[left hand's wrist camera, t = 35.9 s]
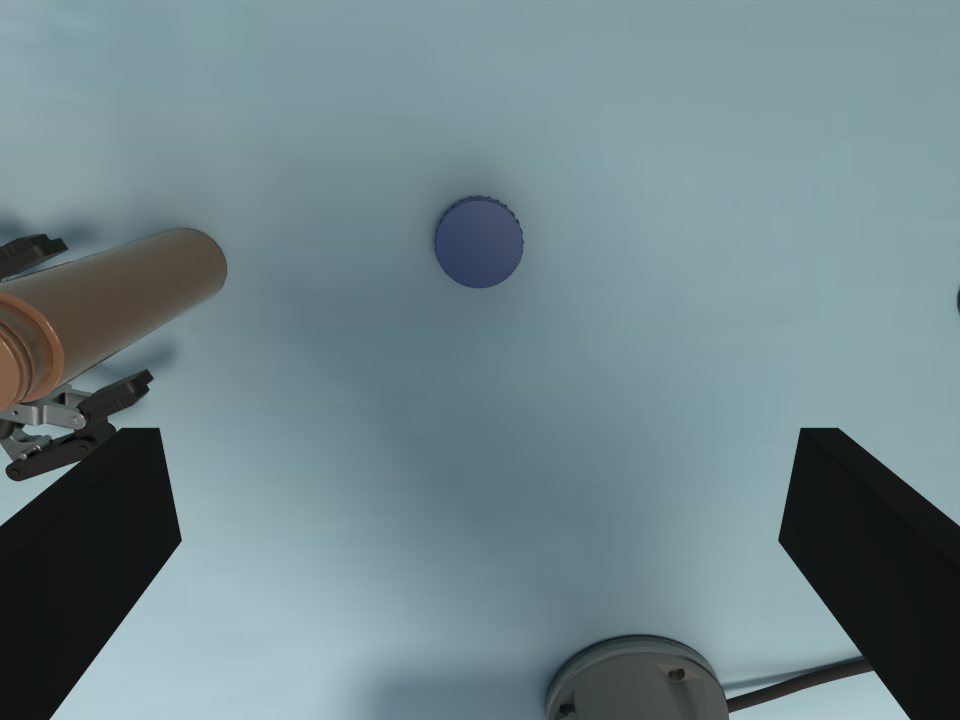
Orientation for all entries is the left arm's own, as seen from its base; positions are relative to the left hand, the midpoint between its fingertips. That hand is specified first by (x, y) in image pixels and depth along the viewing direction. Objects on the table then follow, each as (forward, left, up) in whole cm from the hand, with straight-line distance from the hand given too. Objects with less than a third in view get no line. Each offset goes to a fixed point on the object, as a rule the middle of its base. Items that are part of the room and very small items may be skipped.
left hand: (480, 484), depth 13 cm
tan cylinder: (+18, -7, -29) cm, 34 cm away
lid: (0, -1, -27) cm, 27 cm away
